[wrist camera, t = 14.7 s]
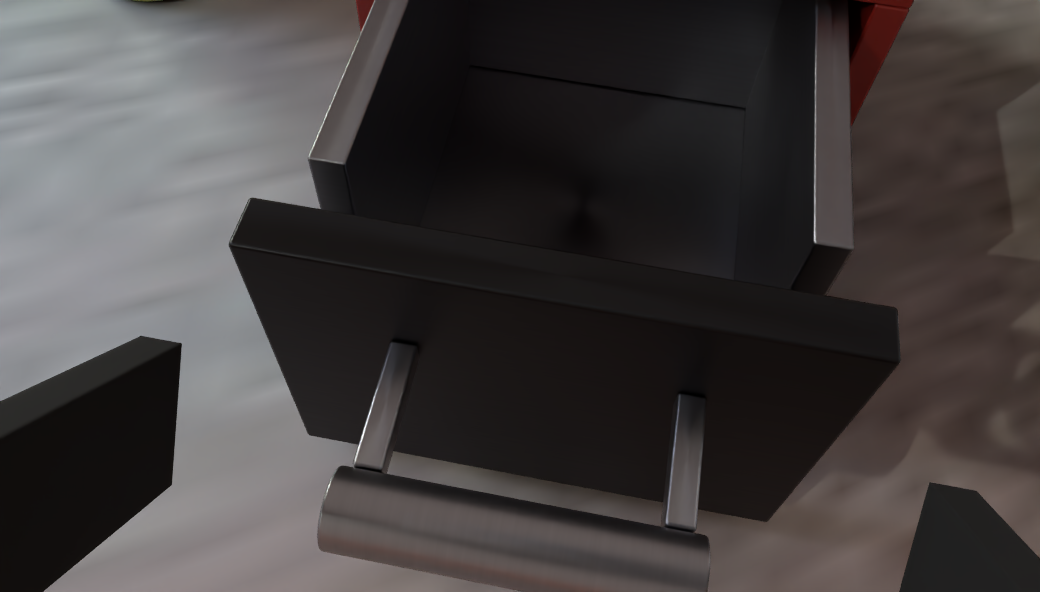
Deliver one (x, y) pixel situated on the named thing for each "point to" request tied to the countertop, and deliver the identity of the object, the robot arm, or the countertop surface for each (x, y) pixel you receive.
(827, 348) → the black drawer
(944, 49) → the countertop surface
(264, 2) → the countertop surface
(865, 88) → the red drawer cabinet
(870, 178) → the countertop surface
